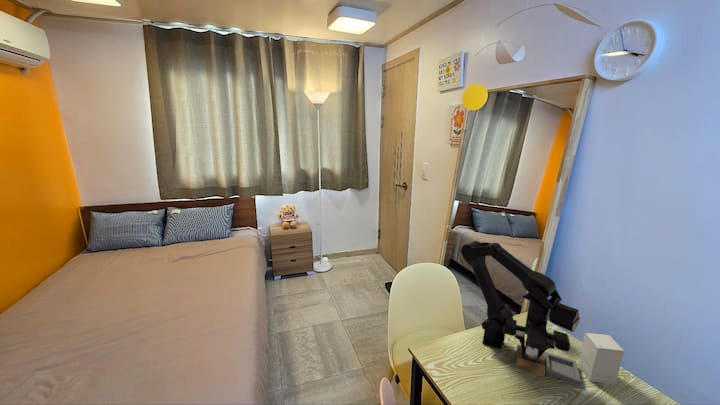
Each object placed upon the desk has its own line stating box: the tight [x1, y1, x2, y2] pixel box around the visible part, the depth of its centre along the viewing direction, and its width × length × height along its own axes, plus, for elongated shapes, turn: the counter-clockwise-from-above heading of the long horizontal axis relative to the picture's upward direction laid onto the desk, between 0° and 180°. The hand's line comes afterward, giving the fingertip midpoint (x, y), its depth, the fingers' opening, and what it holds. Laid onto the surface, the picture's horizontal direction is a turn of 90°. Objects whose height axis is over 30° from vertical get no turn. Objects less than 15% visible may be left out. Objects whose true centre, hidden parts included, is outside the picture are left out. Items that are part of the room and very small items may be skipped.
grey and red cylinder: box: [522, 337, 539, 363], centre depth 97 cm, size 4×4×9 cm
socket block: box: [515, 344, 546, 377], centre depth 98 cm, size 8×8×3 cm
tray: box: [544, 351, 581, 387], centre depth 96 cm, size 9×9×2 cm
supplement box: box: [578, 332, 625, 385], centre depth 93 cm, size 7×7×13 cm
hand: (530, 354), depth 98 cm, fingers closed on grey and red cylinder, 4 cm apart
